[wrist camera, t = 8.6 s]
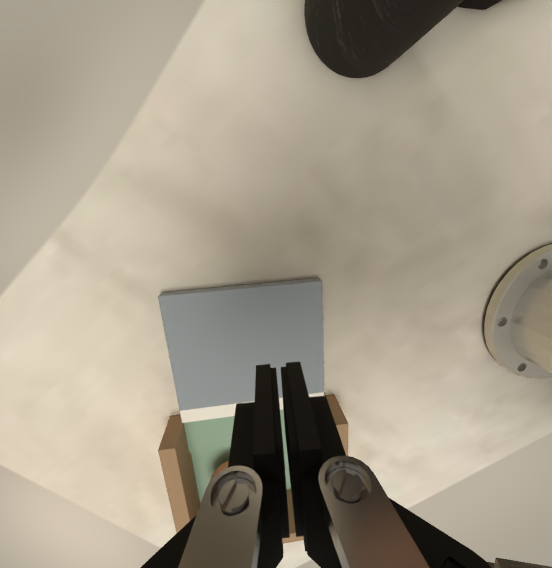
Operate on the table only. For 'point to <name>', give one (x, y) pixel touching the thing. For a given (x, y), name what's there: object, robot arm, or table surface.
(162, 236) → the table surface
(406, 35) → the travel mug
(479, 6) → the portable speaker
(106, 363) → the table surface
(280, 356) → the lane
